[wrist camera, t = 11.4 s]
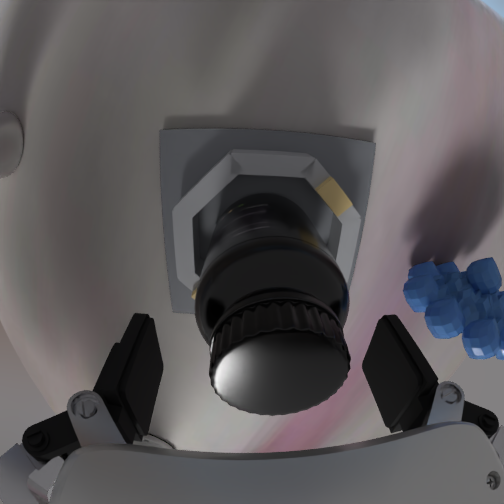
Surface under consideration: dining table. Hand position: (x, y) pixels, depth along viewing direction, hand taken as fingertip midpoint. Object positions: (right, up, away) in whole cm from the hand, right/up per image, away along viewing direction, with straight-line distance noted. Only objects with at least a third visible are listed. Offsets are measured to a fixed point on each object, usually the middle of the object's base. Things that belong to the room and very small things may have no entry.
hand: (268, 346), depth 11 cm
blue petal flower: (+16, +3, +11) cm, 20 cm away
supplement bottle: (0, +5, +9) cm, 10 cm away
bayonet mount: (0, +5, +9) cm, 10 cm away
